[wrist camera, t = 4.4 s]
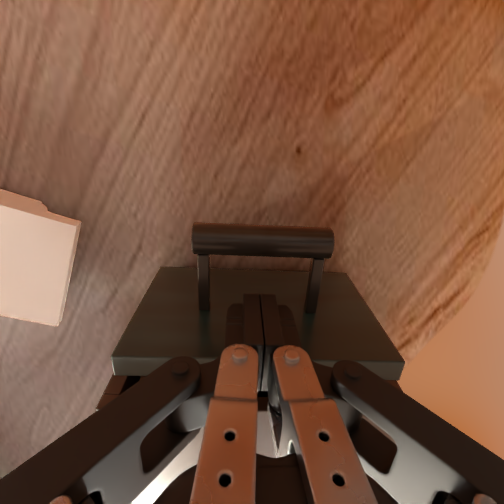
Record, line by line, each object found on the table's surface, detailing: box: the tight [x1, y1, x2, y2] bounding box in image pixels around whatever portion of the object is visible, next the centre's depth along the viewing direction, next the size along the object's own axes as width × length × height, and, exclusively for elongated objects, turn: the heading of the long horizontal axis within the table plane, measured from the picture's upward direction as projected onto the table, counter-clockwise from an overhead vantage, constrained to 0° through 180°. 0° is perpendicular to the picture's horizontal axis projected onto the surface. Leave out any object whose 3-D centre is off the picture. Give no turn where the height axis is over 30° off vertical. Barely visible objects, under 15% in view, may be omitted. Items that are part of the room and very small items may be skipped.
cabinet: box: [96, 373, 403, 504], centre depth 22 cm, size 16×15×11 cm
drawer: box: [111, 222, 405, 397], centre depth 19 cm, size 20×13×9 cm
